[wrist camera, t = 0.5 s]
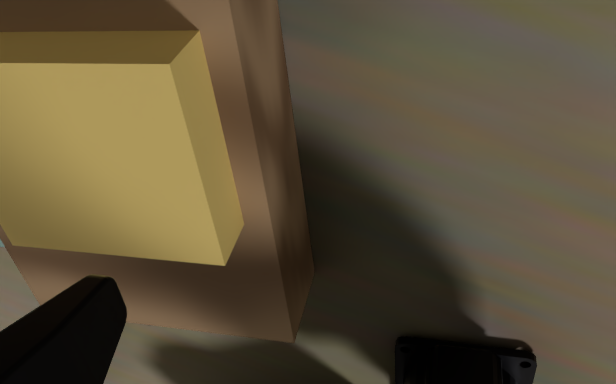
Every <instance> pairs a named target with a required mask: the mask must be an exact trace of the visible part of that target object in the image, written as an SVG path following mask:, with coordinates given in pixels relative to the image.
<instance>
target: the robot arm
mask: <svg viewBox="0 0 616 384" xmlns="http://www.w3.org/2000/svg"><path fill="white" fill-rule="evenodd" d="M126 319H127V308H126V305H125V302H124V300H123V297H122V295H121V293H120V290H119V288H118V285H117V283H116V281H115V279H114V278H112V277H110V276H104V275H96V274H91V275H88V276H86V277H84V278H82V279H81V280H79V281H78V282H76V283H74V284H73V285H71V286H70V287H68V288H67V289H65V290H64V291H62V292H61V293H59V294H57V295H56V296H54V297H53V298H51V299H50V300H48V301H47V302H45V303H44V304H42V305H41V306H39V307H37V308H36V309H34V310H33V311H31V312H30V313H28V314H27V315H25V316H24V317H22V318H20V319H19V320H17V321H16V322H14V323H13V324H11V325H10V326H8V327H7V328H5V329H3V330H2V331H0V384H103V383H104V380H105V377H106V375H107V372H108V369H109V366H110V364H111V361H112V358H113V356H114V353H115V350H116V347H117V345H118V342H119V339H120V337H121V334H122V331H123V329H124V326H125V323H126ZM536 367H537V363H536V356H535V355H534V354H533V353H531V352H528V351H522V350H513V349H505V348H496V347H488V346H480V345H471V344H463V343H454V342H446V341H437V340H429V339H420V338H412V337H400V338H398V339H397V340H396V345H395V384H532V383H533V379H534V375H535V371H536Z"/></svg>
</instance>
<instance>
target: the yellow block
mask: <svg viewBox="0 0 616 384" xmlns="http://www.w3.org/2000/svg"><path fill="white" fill-rule="evenodd" d="M0 225H1V227H2V228H3V230H4V232H5V233H6V235H7V237H8V238H9V240H10V242H11V244H12V245H13V246H23V247H34V248H44V249H54V250H65V251H75V252H86V253H96V254H106V255H117V256H127V257H137V258H148V259H158V260H169V261H179V262H189V263H200V264H210V265H221V266H225V265H226V263H227V261H228V259H229V256H230V254H231V252H232V250H233V248H234V245H235V243H236V241H237V239H238V237H239V235H240V232H241V230H242V228H243V226H244V221H243V217H242V212H241V208H240V204H239V199H238V195H237V191H236V186H235V182H234V178H233V173H232V169H231V165H230V160H229V156H228V152H227V147H226V143H225V139H224V134H223V130H222V126H221V121H220V117H219V113H218V108H217V104H216V100H215V95H214V91H213V87H212V82H211V78H210V74H209V69H208V65H207V61H206V56H205V52H204V48H203V43H202V39H201V35H200V30H189V31H73V32H0Z"/></svg>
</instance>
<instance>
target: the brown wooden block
mask: <svg viewBox="0 0 616 384" xmlns="http://www.w3.org/2000/svg"><path fill="white" fill-rule="evenodd" d="M189 30H200V35H201V39H202V43H203V48H204V52H205V56H206V61H207V65H208V69H209V74H210V78H211V82H212V87H213V91H214V95H215V100H216V104H217V108H218V113H219V117H220V121H221V126H222V130H223V134H224V139H225V143H226V147H227V152H228V156H229V160H230V165H231V169H232V173H233V178H234V182H235V186H236V191H237V195H238V199H239V204H240V208H241V212H242V217H243V221H244V226H243V228H242V230H241V232H240V235H239V237H238V239H237V241H236V243H235V245H234V248H233V250H232V252H231V254H230V256H229V259H228V261H227V263H226V265H225V266H221V265H210V264H200V263H189V262H179V261H169V260H158V259H148V258H137V257H127V256H117V255H106V254H96V253H86V252H75V251H65V250H54V249H44V248H34V247H23V246H13V245H12V244H11V242H10V240H9V238H8V237H7V235H6V233H5V232H4V230H3V228H2V227H1V225H0V239H1V241H2V243H3V244H4V246H5V248H6V249H7V251H8V253H9V254H10V256H11V258H12V259H13V261H14V263H15V264H16V266H17V268H18V269H19V271H20V273H21V274H22V276H23V278H24V279H25V281H26V282H27V284H28V286H29V287H30V289H31V291H32V292H33V294H34V296H35V297H36V299H37V301H38V302H39V304H40V306H41V305H42V304H44V303H45V302H47V301H48V300H50V299H51V298H53V297H54V296H56V295H57V294H59V293H61V292H62V291H64V290H65V289H67V288H68V287H70V286H71V285H73V284H74V283H76V282H78V281H79V280H81V279H82V278H84V277H86V276H88V275H91V274H96V275H104V276H110V277H112V278H114V279H115V281H116V283H117V285H118V288H119V290H120V293H121V295H122V297H123V300H124V302H125V305H126V308H127V319H126V322H131V323H139V324H147V325H155V326H162V327H170V328H178V329H186V330H194V331H202V332H210V333H218V334H226V335H233V336H241V337H249V338H257V339H265V340H273V341H281V342H289V343H294V342H295V339H296V335H297V332H298V328H299V325H300V321H301V318H302V315H303V311H304V308H305V304H306V301H307V297H308V294H309V290H310V287H311V283H312V280H313V276H314V273H315V271H314V264H313V256H312V249H311V242H310V235H309V227H308V220H307V213H306V205H305V198H304V191H303V183H302V176H301V169H300V162H299V154H298V147H297V140H296V132H295V125H294V118H293V111H292V103H291V96H290V89H289V81H288V74H287V67H286V60H285V52H284V45H283V38H282V30H281V23H280V16H279V8H278V1H277V0H0V32H73V31H189Z"/></svg>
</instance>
